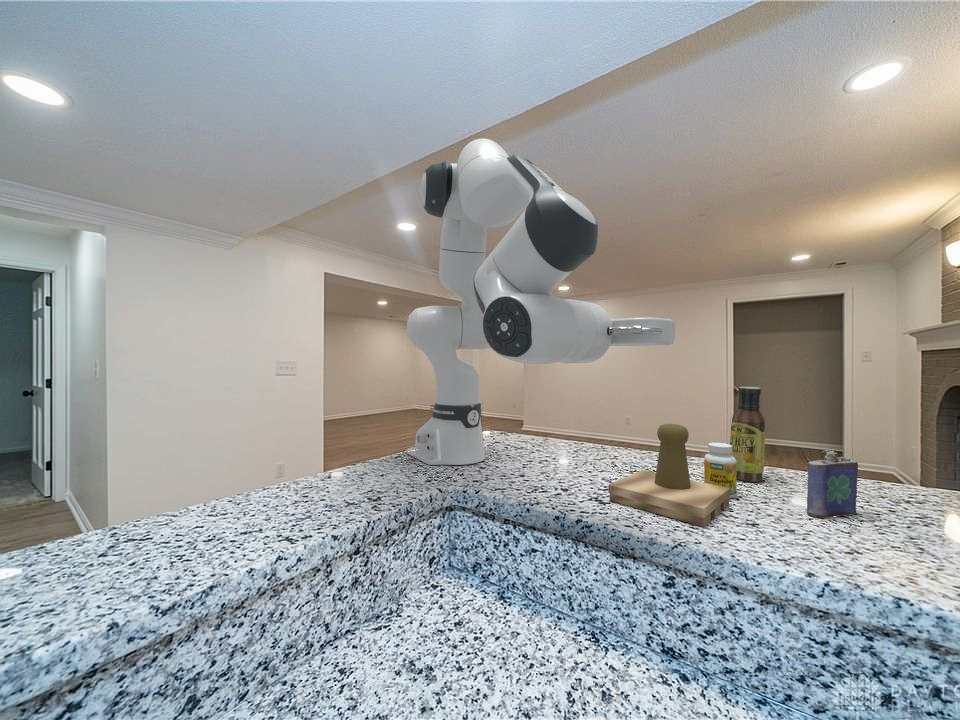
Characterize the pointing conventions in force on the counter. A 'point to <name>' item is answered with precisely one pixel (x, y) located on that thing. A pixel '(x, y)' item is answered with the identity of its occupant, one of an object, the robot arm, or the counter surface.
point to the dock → (671, 498)
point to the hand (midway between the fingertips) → (624, 335)
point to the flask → (832, 486)
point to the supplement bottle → (720, 467)
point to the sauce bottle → (748, 436)
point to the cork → (672, 458)
